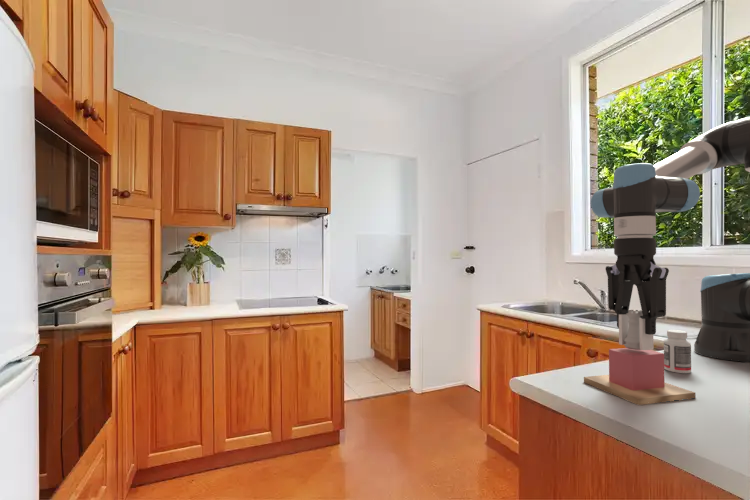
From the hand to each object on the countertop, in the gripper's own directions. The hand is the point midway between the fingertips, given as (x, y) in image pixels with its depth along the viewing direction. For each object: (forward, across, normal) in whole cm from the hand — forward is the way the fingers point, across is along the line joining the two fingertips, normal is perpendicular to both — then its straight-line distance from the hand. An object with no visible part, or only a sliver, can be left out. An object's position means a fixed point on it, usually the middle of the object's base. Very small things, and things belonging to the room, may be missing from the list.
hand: (635, 346), depth 85 cm
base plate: (+9, 0, 0) cm, 9 cm away
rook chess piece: (+1, 0, 0) cm, 1 cm away
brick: (+8, 0, 0) cm, 8 cm away
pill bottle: (+9, -9, +22) cm, 26 cm away
